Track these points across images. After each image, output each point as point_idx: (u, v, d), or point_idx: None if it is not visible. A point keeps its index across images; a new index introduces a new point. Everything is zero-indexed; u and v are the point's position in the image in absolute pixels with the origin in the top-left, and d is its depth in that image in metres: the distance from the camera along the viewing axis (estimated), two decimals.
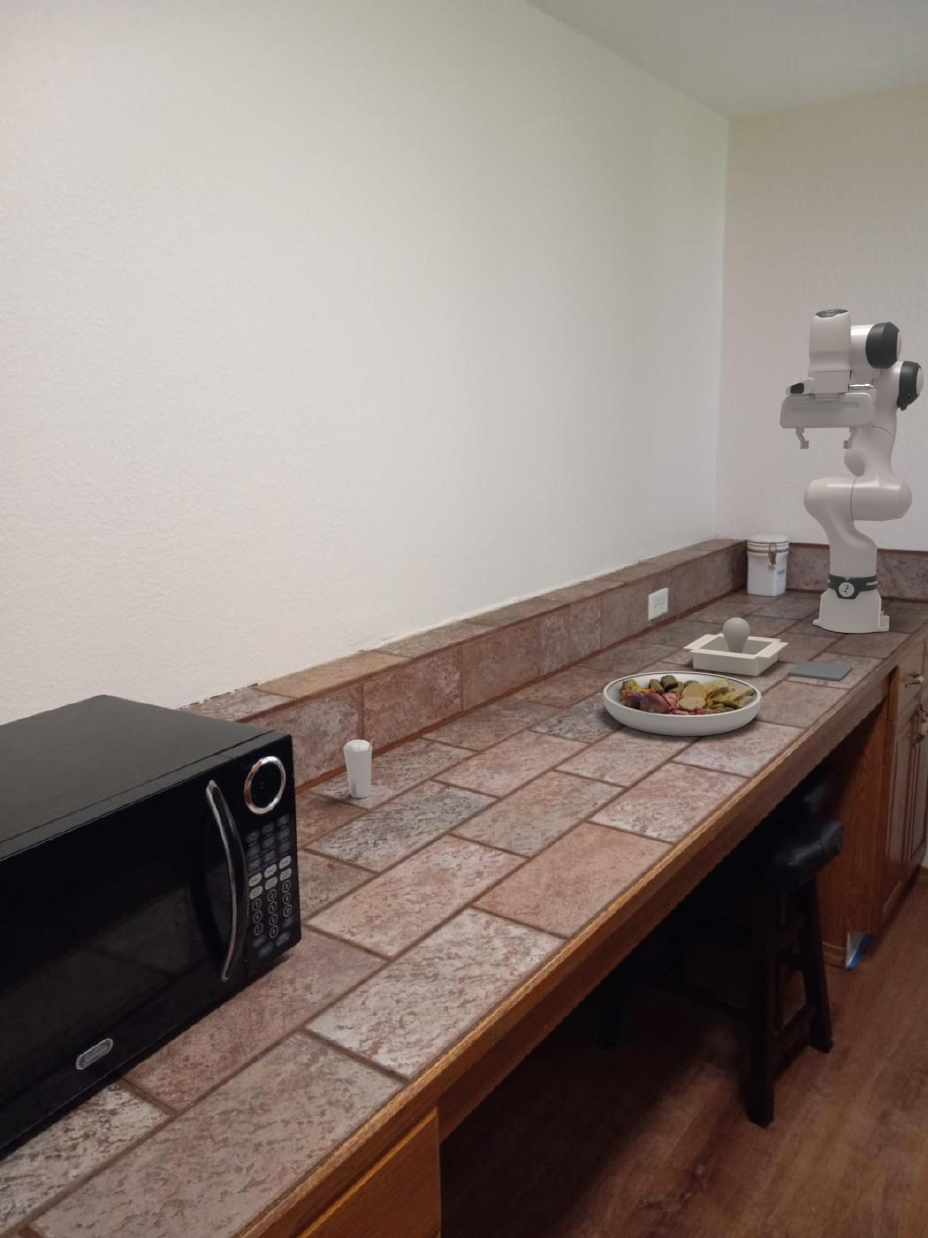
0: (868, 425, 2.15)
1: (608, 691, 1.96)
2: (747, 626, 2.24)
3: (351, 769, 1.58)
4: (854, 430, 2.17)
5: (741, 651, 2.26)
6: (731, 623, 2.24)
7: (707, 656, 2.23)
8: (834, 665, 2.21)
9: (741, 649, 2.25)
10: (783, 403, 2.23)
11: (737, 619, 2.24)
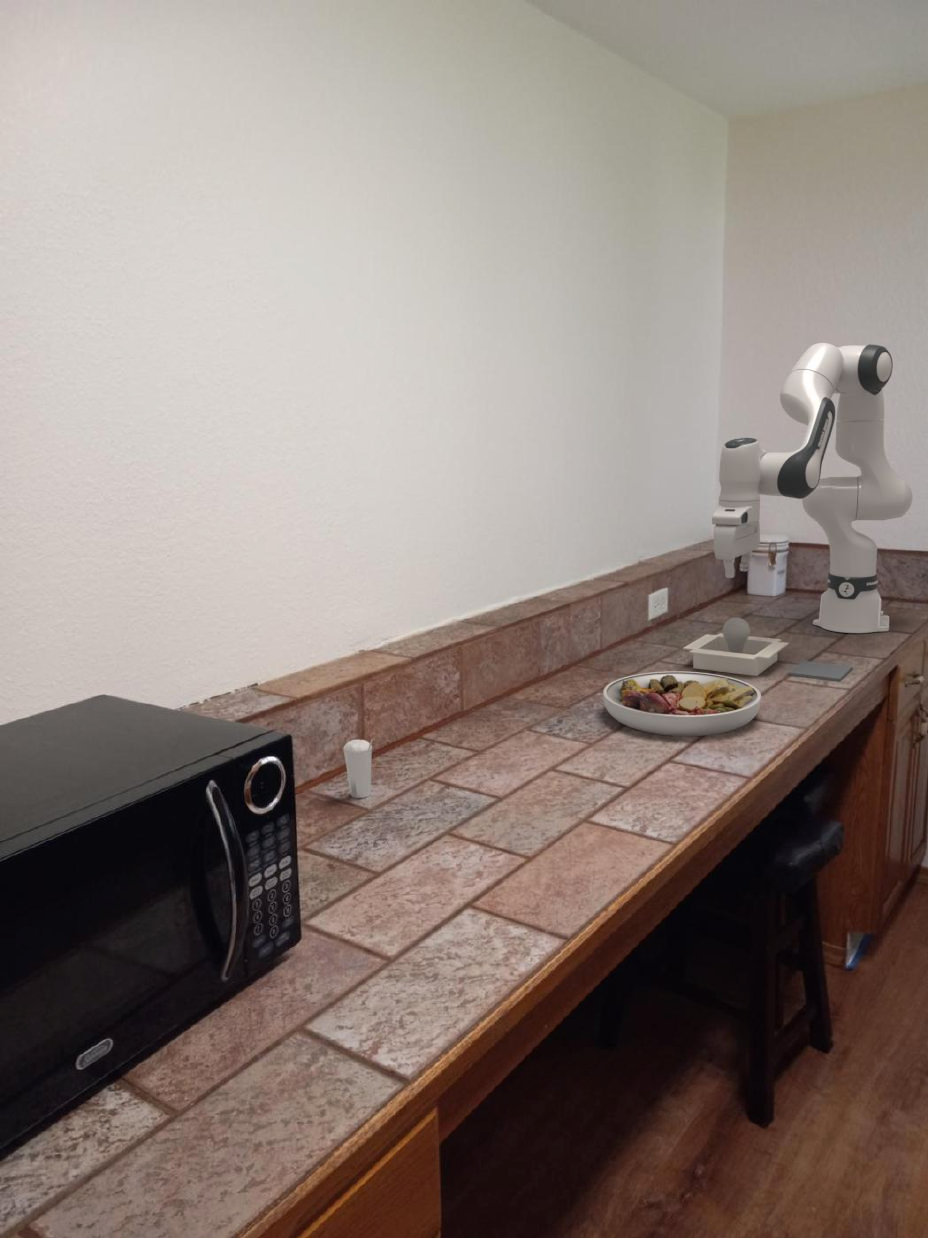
0: (758, 546, 2.28)
1: (608, 691, 1.96)
2: (747, 626, 2.24)
3: (351, 769, 1.58)
4: (751, 553, 2.27)
5: (741, 651, 2.26)
6: (731, 623, 2.24)
7: (707, 656, 2.23)
8: (834, 665, 2.21)
9: (741, 649, 2.25)
10: (734, 534, 2.12)
11: (737, 619, 2.24)
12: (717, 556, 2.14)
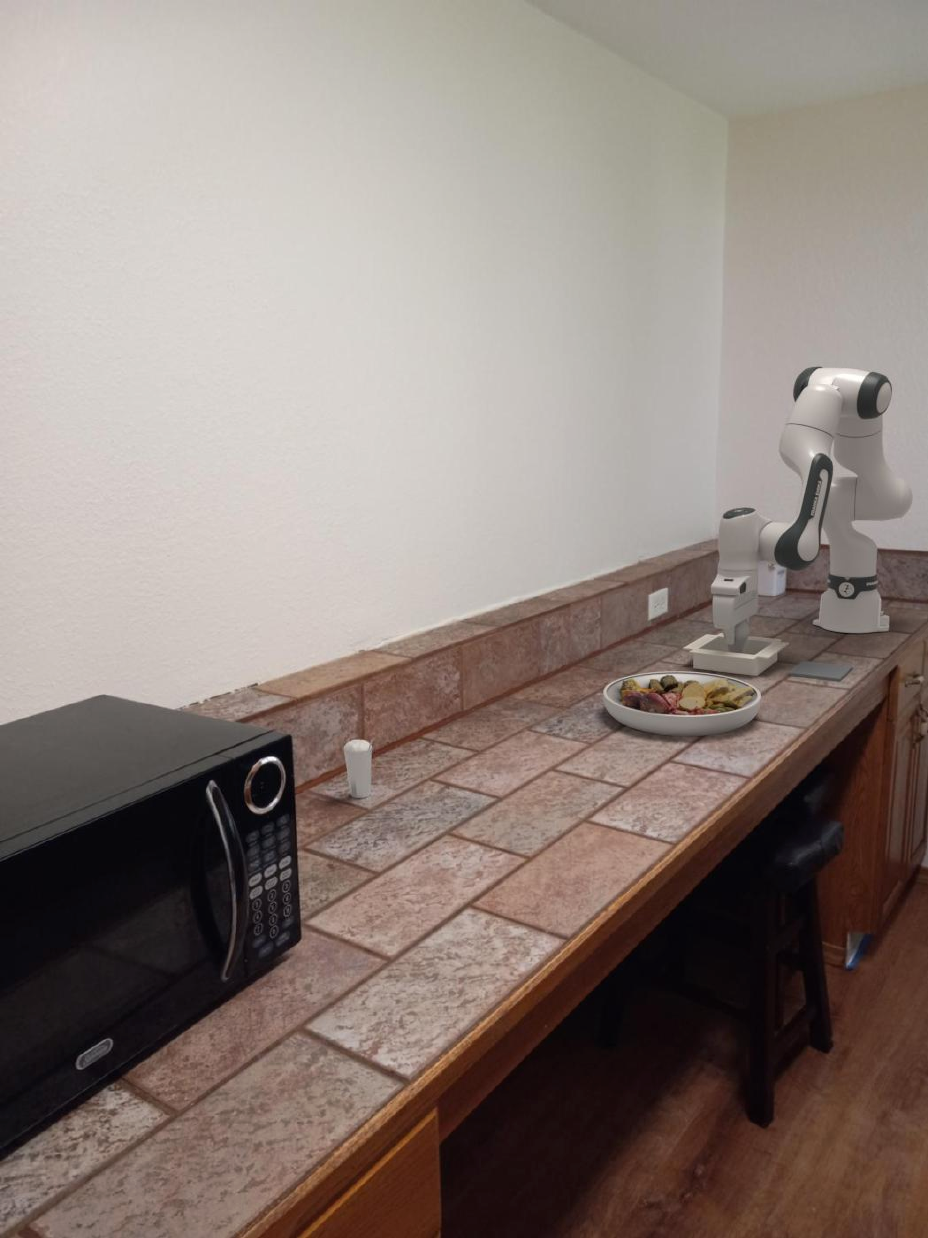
0: None
1: (608, 691, 1.96)
2: (747, 626, 2.24)
3: (351, 769, 1.58)
4: (748, 619, 2.29)
5: (741, 651, 2.26)
6: None
7: (707, 656, 2.23)
8: (834, 665, 2.21)
9: (741, 649, 2.25)
10: (733, 604, 2.16)
11: None
12: (716, 625, 2.18)
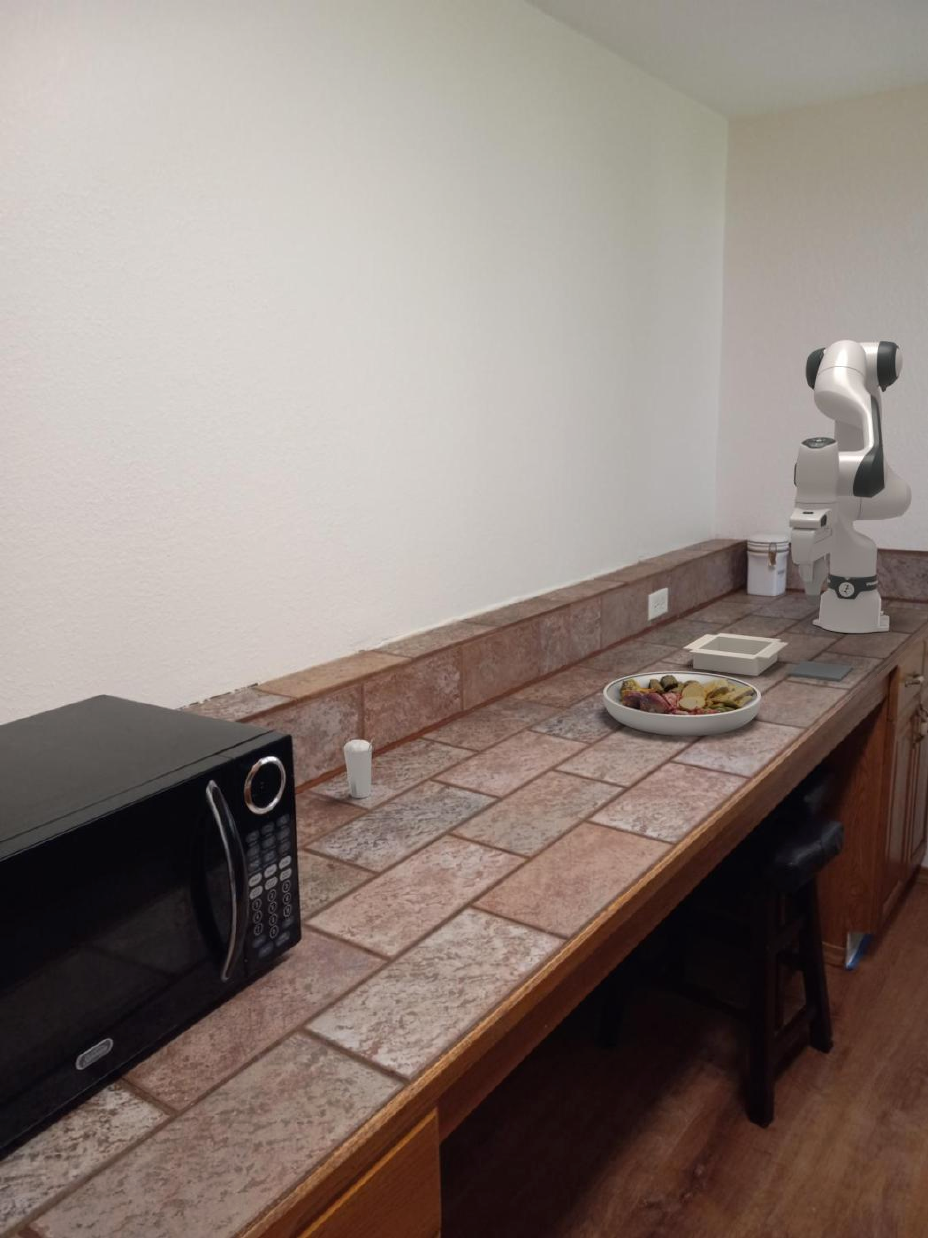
0: (833, 549, 2.21)
1: (608, 691, 1.96)
2: (825, 564, 2.13)
3: (351, 769, 1.58)
4: (825, 556, 2.18)
5: (819, 591, 2.15)
6: None
7: (707, 656, 2.23)
8: (834, 665, 2.21)
9: (819, 589, 2.15)
10: (814, 538, 2.05)
11: None
12: (795, 560, 2.07)
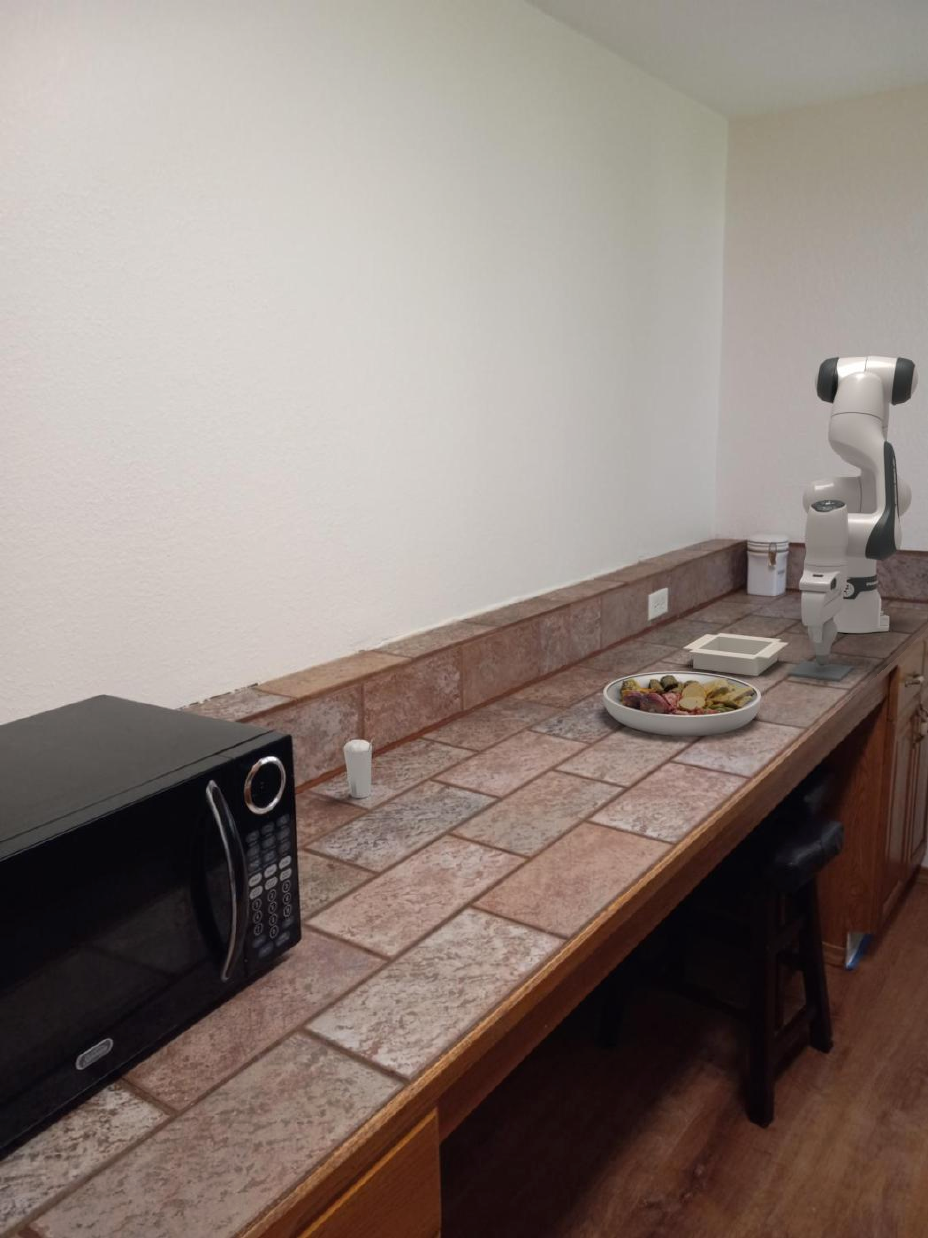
0: (841, 608, 2.23)
1: (608, 691, 1.96)
2: (834, 625, 2.15)
3: (351, 769, 1.58)
4: (834, 616, 2.20)
5: (828, 651, 2.16)
6: None
7: (707, 656, 2.23)
8: (834, 665, 2.21)
9: (828, 649, 2.16)
10: (824, 601, 2.06)
11: None
12: (805, 623, 2.09)
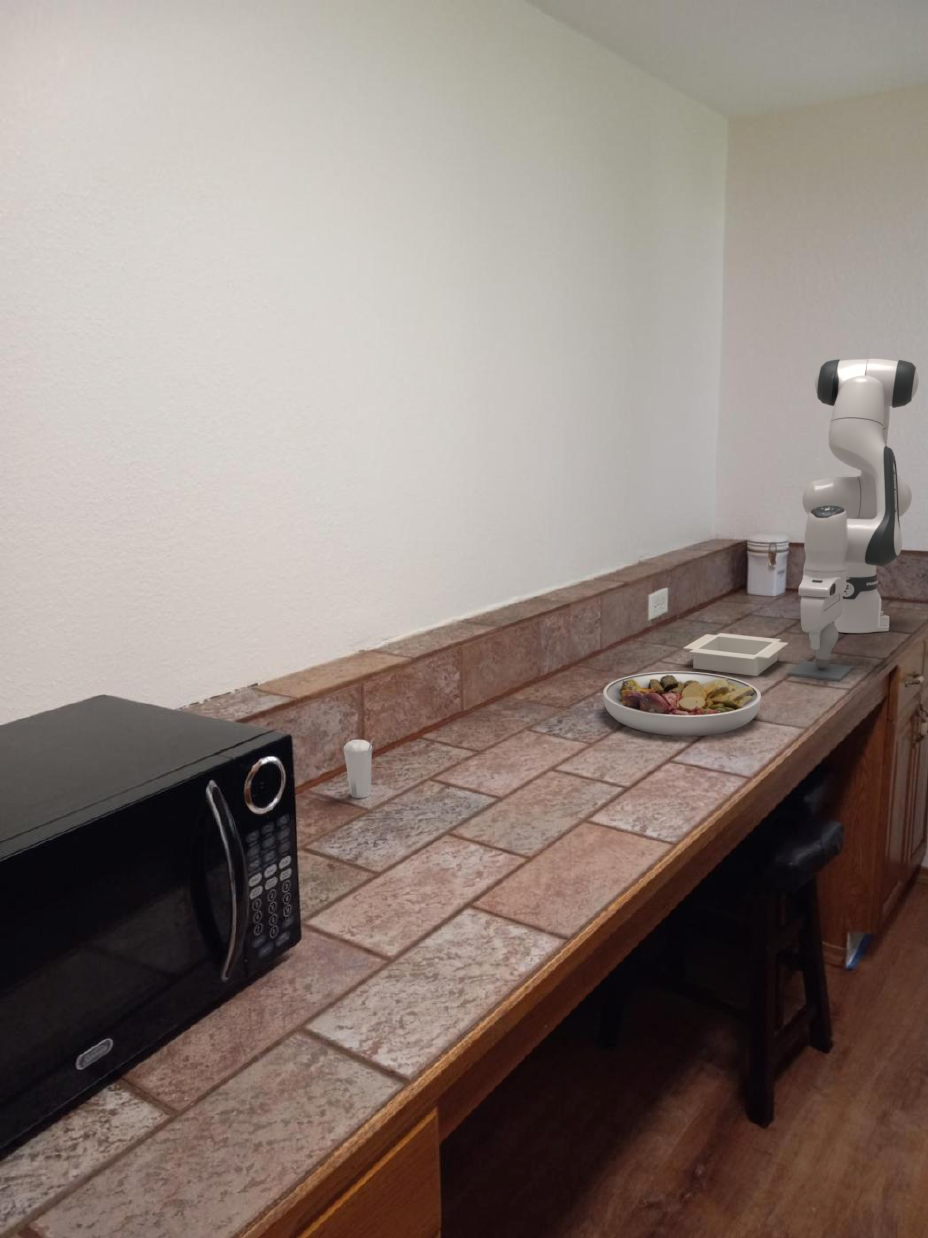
0: (841, 614, 2.23)
1: (608, 691, 1.96)
2: (836, 630, 2.15)
3: (351, 769, 1.58)
4: (834, 621, 2.21)
5: (828, 656, 2.17)
6: None
7: (707, 656, 2.23)
8: (834, 665, 2.21)
9: (829, 654, 2.16)
10: (823, 607, 2.07)
11: None
12: (804, 629, 2.09)
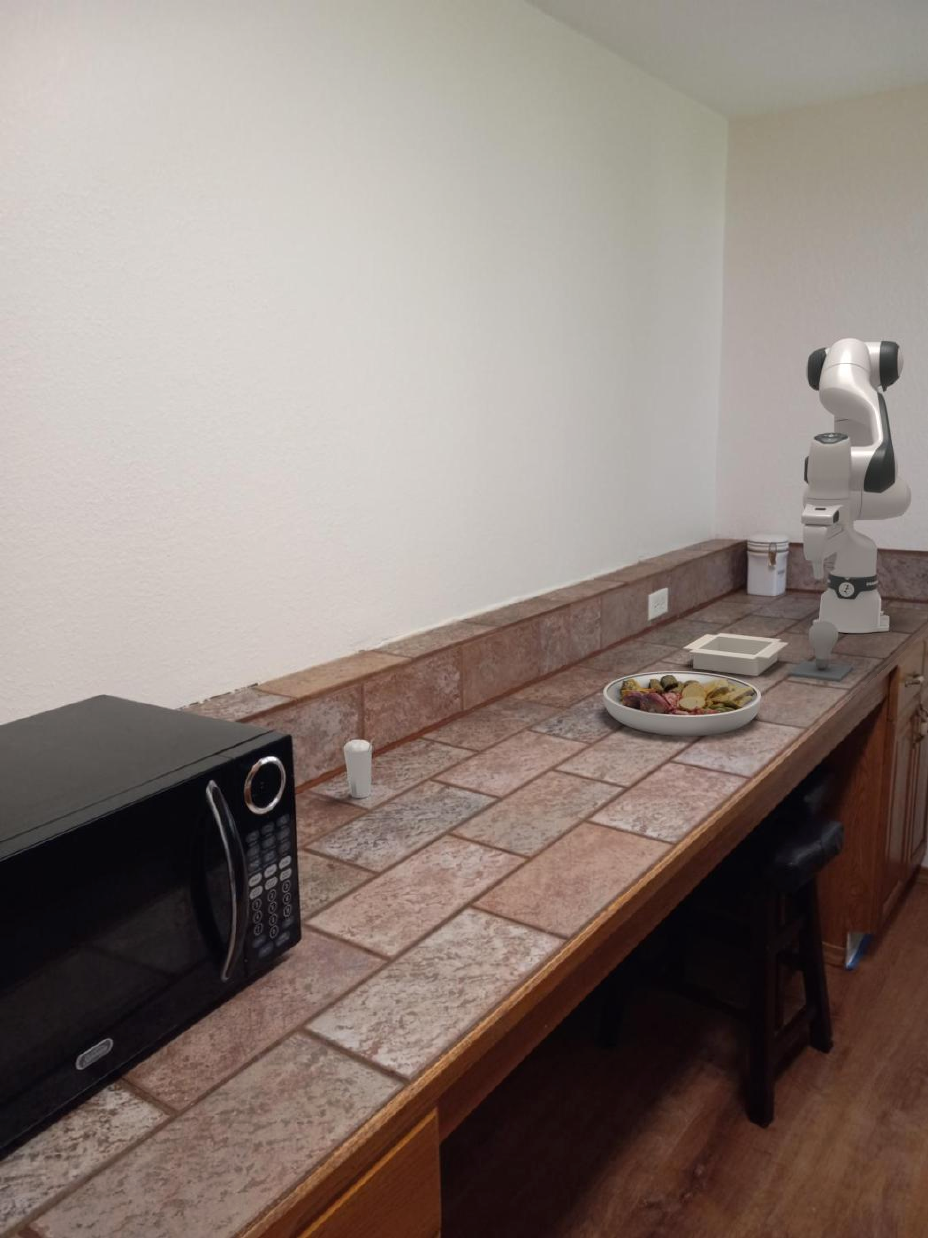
0: (844, 545, 2.20)
1: (608, 691, 1.96)
2: (835, 630, 2.15)
3: (351, 769, 1.58)
4: (837, 552, 2.18)
5: (828, 656, 2.17)
6: (819, 627, 2.15)
7: (707, 656, 2.23)
8: (834, 665, 2.21)
9: (829, 654, 2.16)
10: (826, 534, 2.03)
11: (825, 622, 2.15)
12: (807, 557, 2.06)
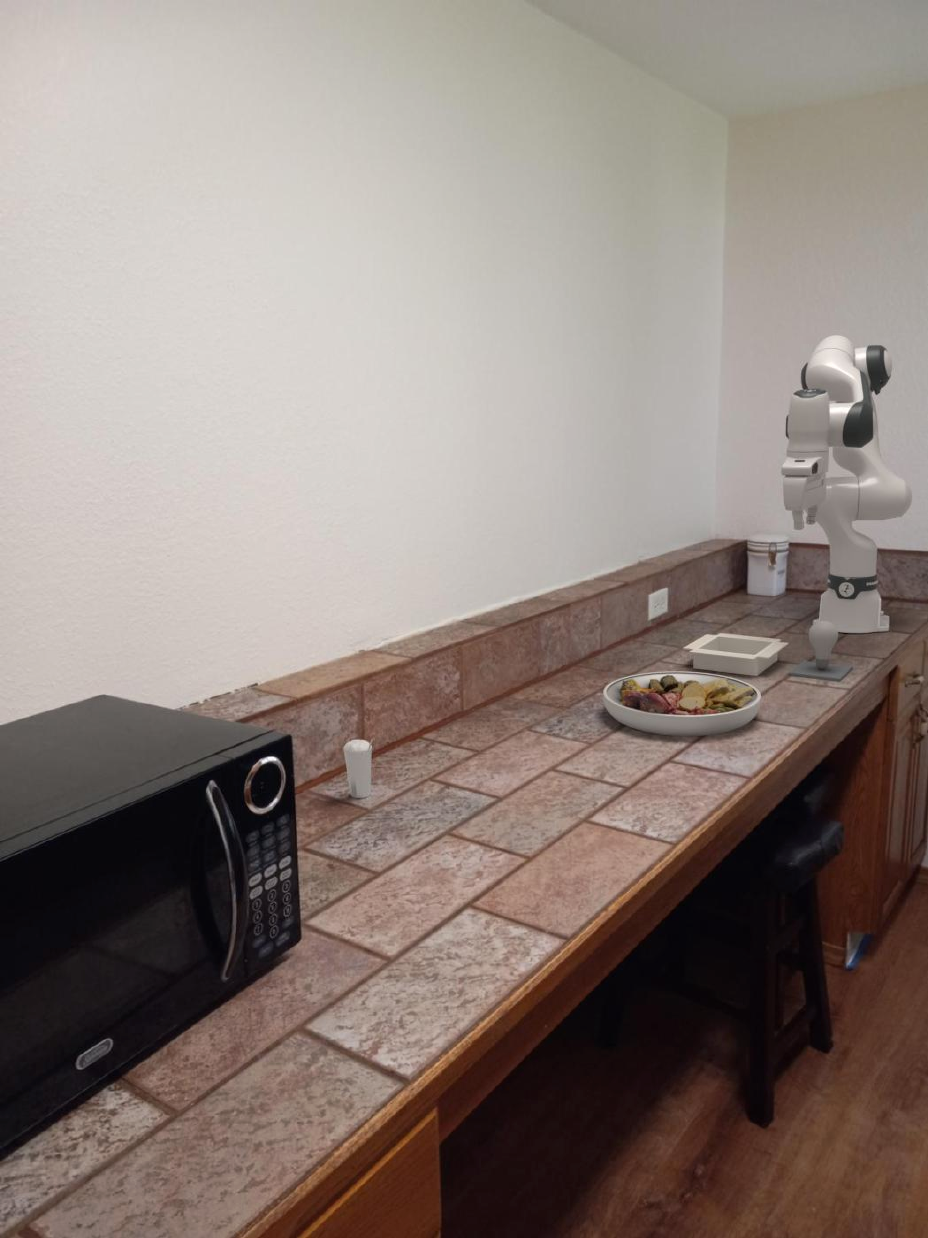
0: (824, 500, 2.27)
1: (608, 691, 1.96)
2: (835, 630, 2.15)
3: (351, 769, 1.58)
4: (818, 506, 2.25)
5: (828, 656, 2.17)
6: (819, 627, 2.15)
7: (707, 656, 2.23)
8: (834, 665, 2.21)
9: (828, 654, 2.16)
10: (805, 484, 2.11)
11: (825, 622, 2.15)
12: (787, 507, 2.13)
